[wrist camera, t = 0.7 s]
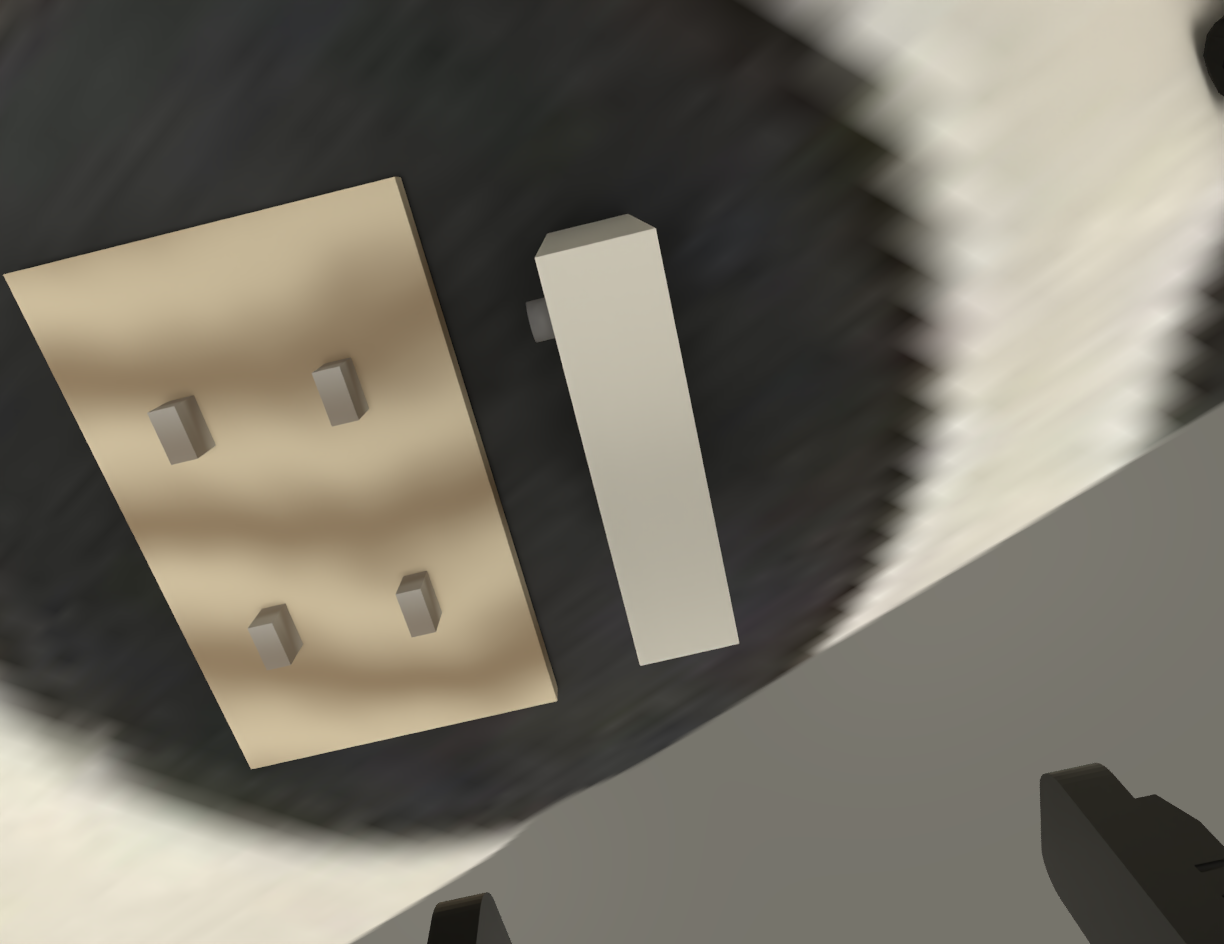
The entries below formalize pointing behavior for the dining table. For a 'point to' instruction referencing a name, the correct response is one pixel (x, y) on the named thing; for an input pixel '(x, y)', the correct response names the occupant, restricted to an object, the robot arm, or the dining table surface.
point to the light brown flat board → (300, 468)
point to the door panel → (637, 431)
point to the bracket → (1215, 54)
